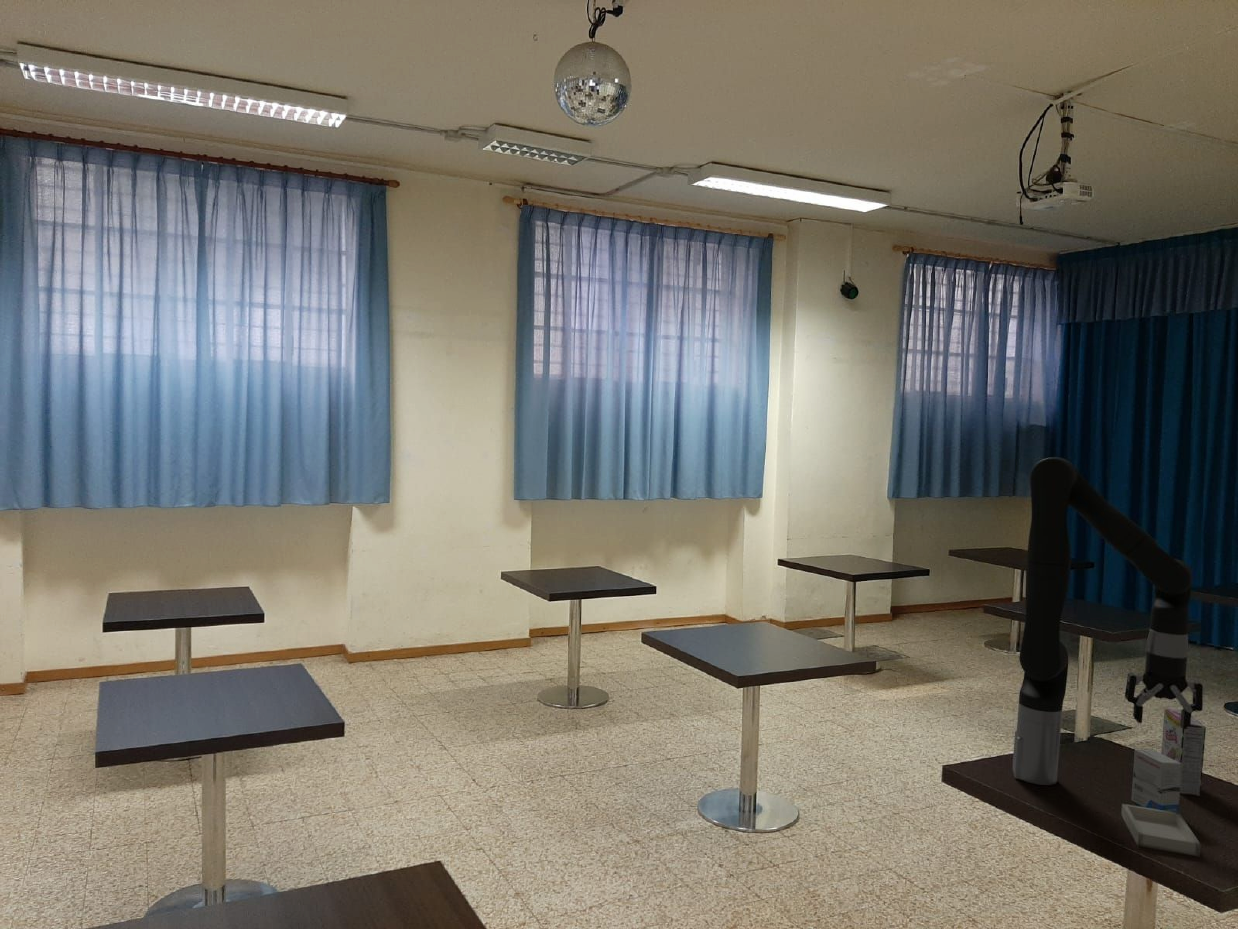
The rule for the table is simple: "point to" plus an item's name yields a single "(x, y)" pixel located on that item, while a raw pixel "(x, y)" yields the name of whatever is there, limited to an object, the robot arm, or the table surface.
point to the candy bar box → (1185, 749)
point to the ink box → (1156, 781)
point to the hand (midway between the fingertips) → (1161, 725)
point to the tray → (1160, 830)
